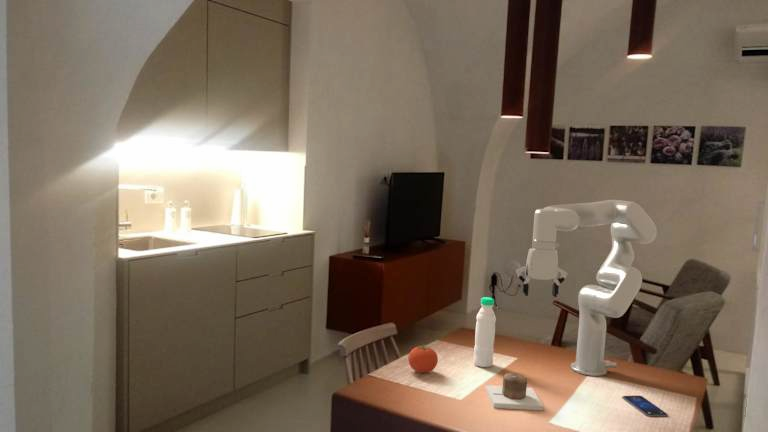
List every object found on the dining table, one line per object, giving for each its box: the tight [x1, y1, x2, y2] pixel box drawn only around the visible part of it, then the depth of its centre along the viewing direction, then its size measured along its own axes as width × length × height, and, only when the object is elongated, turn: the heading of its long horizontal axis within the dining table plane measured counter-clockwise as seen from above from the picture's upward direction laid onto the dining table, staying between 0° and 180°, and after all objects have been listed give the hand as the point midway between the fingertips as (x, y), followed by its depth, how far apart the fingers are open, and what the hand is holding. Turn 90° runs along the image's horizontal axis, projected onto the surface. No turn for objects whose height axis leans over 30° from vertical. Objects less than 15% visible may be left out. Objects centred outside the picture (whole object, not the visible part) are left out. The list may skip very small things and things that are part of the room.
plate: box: [485, 385, 544, 411], centre depth 186 cm, size 15×14×6 cm
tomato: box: [408, 344, 439, 374], centre depth 206 cm, size 10×10×10 cm
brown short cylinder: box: [502, 372, 528, 400], centre depth 186 cm, size 7×7×6 cm
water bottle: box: [472, 296, 497, 368], centre depth 216 cm, size 7×7×25 cm
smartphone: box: [621, 395, 669, 418], centre depth 187 cm, size 7×1×15 cm
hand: (539, 295), depth 200 cm, fingers open, 9 cm apart
